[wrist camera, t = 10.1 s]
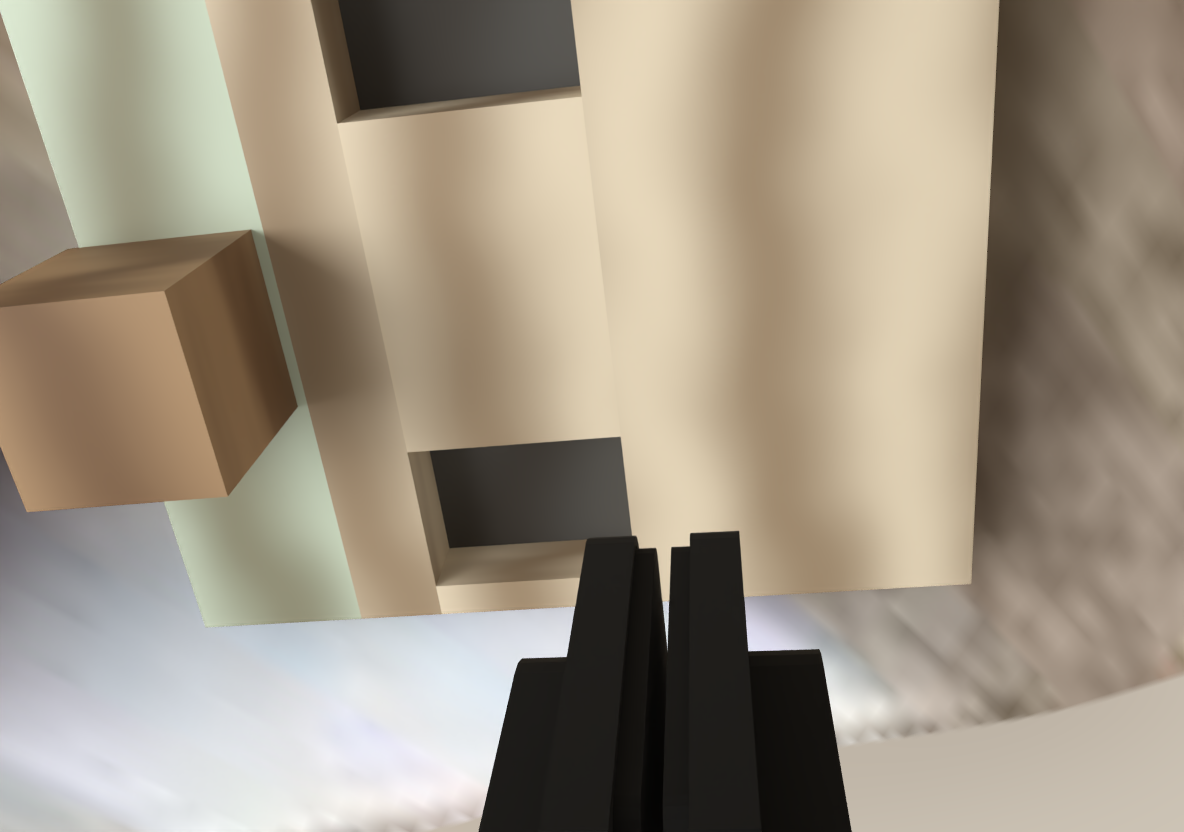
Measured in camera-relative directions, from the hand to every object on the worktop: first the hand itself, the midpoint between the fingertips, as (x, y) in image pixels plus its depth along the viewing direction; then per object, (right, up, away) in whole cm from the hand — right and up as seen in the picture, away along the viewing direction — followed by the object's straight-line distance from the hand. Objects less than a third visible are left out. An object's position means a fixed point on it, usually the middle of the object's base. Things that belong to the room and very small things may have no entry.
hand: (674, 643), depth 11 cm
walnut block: (-12, +5, +16) cm, 20 cm away
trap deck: (-2, +7, +17) cm, 19 cm away
